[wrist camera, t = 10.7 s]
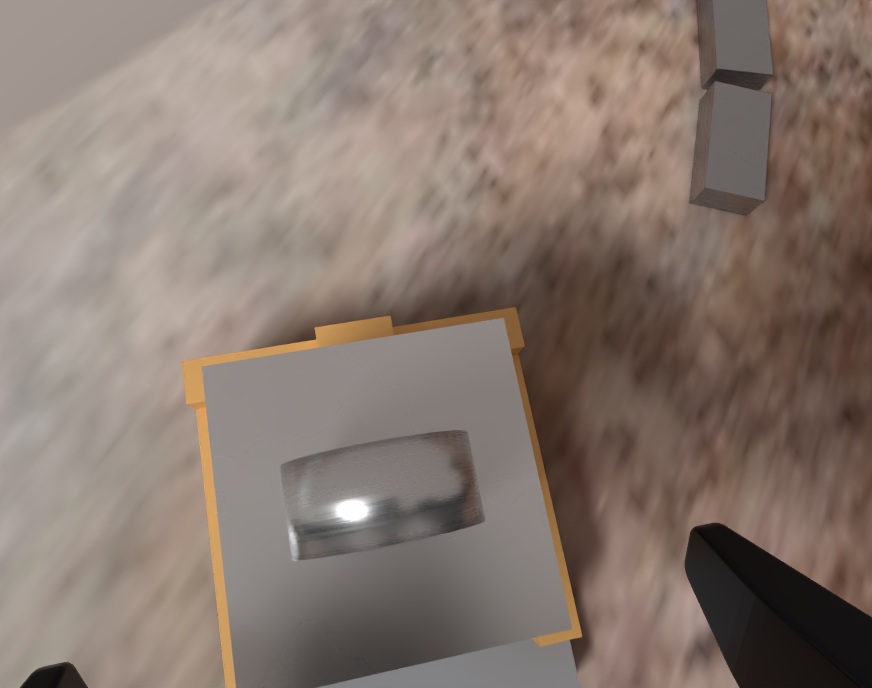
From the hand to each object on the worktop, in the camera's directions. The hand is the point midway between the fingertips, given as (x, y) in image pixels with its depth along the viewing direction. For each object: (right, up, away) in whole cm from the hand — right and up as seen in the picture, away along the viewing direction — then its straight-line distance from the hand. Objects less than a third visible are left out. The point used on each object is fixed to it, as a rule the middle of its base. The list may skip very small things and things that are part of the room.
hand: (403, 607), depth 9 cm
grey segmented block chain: (+12, +16, +17) cm, 26 cm away
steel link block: (-1, -1, +10) cm, 10 cm away
